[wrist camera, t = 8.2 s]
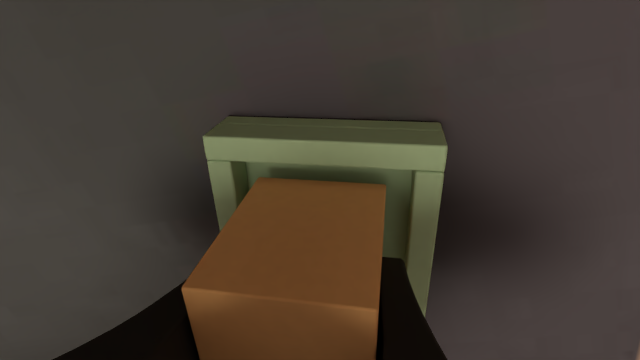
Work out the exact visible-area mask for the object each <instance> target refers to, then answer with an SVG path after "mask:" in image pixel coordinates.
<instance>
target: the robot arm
mask: <svg viewBox="0 0 640 360" xmlns="http://www.w3.org/2000/svg"><path fill="white" fill-rule="evenodd" d="M185 282H186V280H185V281H184V282H183V283H181V284H180V285H179V286H177V287H176V288H174V289H173V290H172V291H170V292H169V293H167V294H166V295H165V296H163V297H162V298H160V299H159V300H158V301H156V302H155V303H153V304H152V305H150V306H149V307H147V308H146V309H144V310H143V311H141V312H140V313H138V314H137V315H135V316H133V317H132V318H130V319H128V320H127V321H125V322H123V323H122V324H120V325H118V326H117V327H115V328H113V329H111V330H110V331H108V332H106V333H104V334H102V335H100V336H98V337H96V338H95V339H93V340H91V341H89V342H87V343H85V344H83V345H81V346H79V347H78V348H76V349H74V350H72V351H69V352H67V353H65V354H63V355H61V356H59V357H57V358H55V359H53V360H200V358H199V354H198V351H197V347H196V343H195V339H194V335H193V332H192V328H191V324H190V320H189V317H188V313H187V309H186V305H185V301H184V298H183V294H182V290H181V289H182V286H183V285H184V283H185ZM376 360H447V358H446V356H445V355H444V353H443V351H442V350H441V348H440V346H439V344H438V342H437V341H436V339H435V337H434V335H433V333H432V331H431V329H430V327H429V325H428V323H427V321H426V319H425V317H424V315H423V313H422V310H421V308H420V306H419V304H418V302H417V299H416V297H415V294H414V292H413V289H412V286H411V284H410V281H409V278H408V274H407V271H406V267H405V262H404V261H403V260H402V259H401V258H391V257H382V266H381V282H380V299H379V317H378V335H377V353H376Z"/></svg>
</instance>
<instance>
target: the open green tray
mask: <svg viewBox="0 0 640 360" xmlns="http://www.w3.org/2000/svg"><path fill="white" fill-rule="evenodd" d="M203 143H204V148H205V154H206V158H207V160H208V161H207V164H208V169H209V175H210V180H211V186H212V191H213V196H214V202H215V207H216V213H217V218H218V224H219V229H220V232H221V230H222V229H223V227H224V226H225V225H226V223H227V222H228V220H229V219H230V217H231V216H232V215H233V213H234V212H235V210H236V209H237V207H238V206H239V205H240V203H241V202H242V200H243V199H244V197H245V196H246V195H247V193H248V192H249V190H250V189H251V187H252V186H253V185H254V183H255V182H256V180H257V179H258V178H259V177H266V178H283V179H300V180H317V181H335V182H352V183H369V184H385V185H386V199H385V217H384V234H383V252H382V257H391V258H401V259H402V260H403V261H404V262H405V267H406V271H407V274H408V278H409V281H410V284H411V286H412V289H413V292H414V294H415V297H416V299H417V302H418V304H419V306H420V308H421V310H422V313H423V315H424V317H425V314H426V306H427V299H428V292H429V284H430V277H431V269H432V262H433V254H434V247H435V240H436V232H437V225H438V217H439V210H440V202H441V195H442V187H443V180H444V170H445V166H446V158H447V151H448V146H447V143H446V139H445V136H444V132H443V130H442V126H441V123H438V122H405V121H371V120H338V119H304V118H270V117H237V116H228V117H227V118H225V119H224V120H223V121H222V122H220V124H217V125H216V126H215V127H214V128H213V129H211V130H210V131H209V132H208V133H206V134H205V135H204V136H203Z"/></svg>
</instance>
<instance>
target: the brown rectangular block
mask: <svg viewBox="0 0 640 360" xmlns="http://www.w3.org/2000/svg"><path fill="white" fill-rule="evenodd" d="M385 199H386V185H385V184H369V183H352V182H335V181H317V180H300V179H283V178H266V177H259V178H258V179H257V180H256V182H255V183H254V185H253V186H252V187H251V189H250V190H249V192H248V193H247V195H246V196H245V197H244V199H243V200H242V202H241V203H240V205H239V206H238V207H237V209H236V210H235V212H234V213H233V215H232V216H231V217H230V219H229V220H228V222H227V223H226V225H225V226H224V227H223V229H222V230H221V232H220V233H219V235H218V236H217V237H216V239H215V240H214V242H213V243H212V245H211V246H210V247H209V249H208V250H207V252H206V253H205V255H204V256H203V257H202V259H201V260H200V262H199V263H198V265H197V266H196V267H195V269H194V270H193V272H192V273H191V275H190V276H189V277H188V279H187V280H186V282H185V283H184V285H183V286H182V289H181V290H182V294H183V298H184V301H185V305H186V309H187V313H188V317H189V320H190V324H191V328H192V332H193V335H194V339H195V343H196V347H197V351H198V354H199V358H200V360H376V353H377V335H378V317H379V299H380V282H381V266H382V252H383V234H384V217H385Z"/></svg>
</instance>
